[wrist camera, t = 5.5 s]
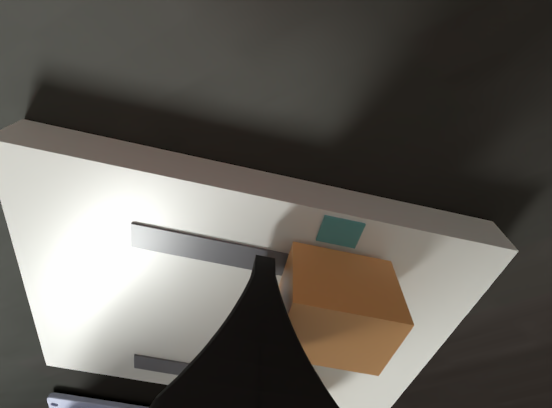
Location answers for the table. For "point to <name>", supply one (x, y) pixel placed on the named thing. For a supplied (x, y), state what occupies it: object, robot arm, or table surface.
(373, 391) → the switch panel
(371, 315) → the orange small block
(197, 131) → the table surface
